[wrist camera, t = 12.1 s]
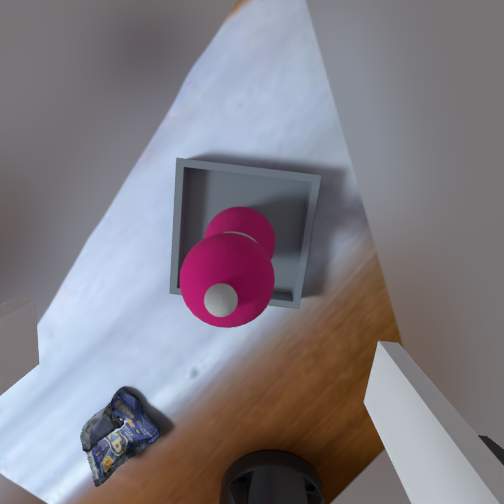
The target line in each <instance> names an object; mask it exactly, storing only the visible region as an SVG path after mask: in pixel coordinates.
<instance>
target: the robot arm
mask: <svg viewBox="0 0 504 504" xmlns="http://www.w3.org/2000/svg"><path fill="white" fill-rule="evenodd" d="M38 364H39V351H38V335H37V319H36V303H35V300H32V299H23V298H13V299H11V300H9V301H7V302H5V303H3V304H0V396H1V395H2V394H3V393H4V392H5V391H7V390H8V389H9V388H10V387H11V386H13V385H14V384H15V383H16V382H17V381H19V380H20V379H21V378H22V377H24V376H25V375H26V374H27V373H28V372H30V371H31V370H32V369H33V368H34V367H36V366H37V365H38ZM364 404H365V406H366V408H367V410H368V412H369V414H370V417H371V419H372V421H373V423H374V425H375V427H376V429H377V431H378V434H379V436H380V438H381V440H382V442H383V444H384V446H385V448H386V451H387V452H388V455H389V457H390V459H391V461H392V463H393V465H394V468H395V470H396V472H397V474H398V476H399V478H400V480H401V482H402V484H403V487H404V489H405V491H406V493H407V495H408V497H409V499H410V501H411V504H504V449H502V448H501V447H500V446H499V445H497V444H496V443H495V442H493V441H492V440H491V439H490V438H488V437H487V436H480V435H477V434H476V433H475V432H474V431H473V430H472V428H471V427H470V426H469V425H468V424H467V423H466V421H465V420H464V419H463V418H462V417H461V416H460V414H459V413H458V412H457V411H456V410H455V409H454V407H453V406H452V405H451V404H450V403H449V402H448V401H447V399H446V398H445V397H444V396H443V394H442V393H441V392H440V391H439V390H438V389H437V387H436V386H435V385H434V384H433V383H432V382H431V381H430V379H429V378H428V377H427V376H426V375H425V374H424V372H423V371H422V370H421V369H420V368H419V367H418V365H417V364H416V363H415V362H414V361H413V359H412V358H411V357H410V356H409V355H408V354H407V352H406V351H405V350H404V349H403V348H402V347H401V345H400V344H399V343H393V342H384V341H378V345H377V349H376V353H375V358H374V362H373V366H372V370H371V374H370V378H369V382H368V386H367V390H366V395H365V399H364ZM219 503H220V504H325V502H324V495H323V490H322V485H321V481H320V478H319V476H318V474H317V473H316V471H315V470H314V469H313V468H312V466H311V465H309V464H308V463H307V462H306V461H304V460H303V459H301V458H299V457H297V456H295V455H293V454H290V453H286V452H282V451H259V452H255V453H251V454H248V455H246V456H244V457H242V458H240V459H239V460H237V461H236V462H234V463H233V464H232V465H231V466H230V467H229V468H228V470H227V471H226V473H225V475H224V477H223V479H222V484H221V491H220V500H219Z"/></svg>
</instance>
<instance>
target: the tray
mask: <svg viewBox="0 0 504 504" xmlns="http://www.w3.org/2000/svg"><path fill="white" fill-rule="evenodd" d="M321 176H322V175H316V174H307V173H299V172H291V171H282V170H274V169H266V168H258V167H249V166H241V165H233V164H224V163H216V162H208V161H199V160H191V159H183V158H176V177H175V196H174V216H173V235H172V255H171V274H170V294H178V295H182V293H181V288H180V272H181V268H182V265H183V262H184V260H185V258H186V256H187V254H188V253H189V252H190V250H191V249H192V248H193V247H194V246H195V245H196V244H197V243H198V242H200V241H201V240H203V239H204V236H205V233H206V229H207V227H208V225H209V224H210V222H211V221H212V219H213V218H214V217H215V216H216V215H217V214H219V213H220V212H222V211H223V210H225V209H228V208H231V207H248V208H251V209H254V210H256V211H258V212H260V213H261V214H262V215H263V216H265V217H266V218H267V220H268V221H269V222H270V224H271V226H272V228H273V230H274V233H275V250H274V254H273V257H272V259H271V262H272V266H273V269H274V276H275V284H274V289H273V294H272V297H271V300H270V302H269V304H268V305H269V306H278V307H286V308H294V309H299V306H300V300H301V294H302V288H303V282H304V277H305V271H306V265H307V259H308V253H309V247H310V241H311V235H312V229H313V223H314V217H315V211H316V206H317V200H318V194H319V188H320V182H321Z"/></svg>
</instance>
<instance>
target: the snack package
mask: <svg viewBox="0 0 504 504" xmlns="http://www.w3.org/2000/svg"><path fill="white" fill-rule="evenodd" d="M138 402H139V399H138V398H136V396H134V395H132V394H131V393H129V392H128V391H127V390H126V389H125V388H123V387H122V388H120V389H119V390H118V391H117V392H116V393H115V395H114V396H113V398H112V400H111V402H110V403H109V404H108V405H107V406H106V407H105V408H104V409H102V410H101V411H99V412H98V413H96V414H95V415H94V416H93V417H92V418H91V419H89V421H87V422H86V424H85V425H84V426H83V429H82V432H81V436H80V438H81V442H82V446H83V447H82V448H83V451H86V453H87V455H88V459H87V460H88V461H89V464H90V468H91V470H92V473H93V480H94V483H95V486H96V487H98V486H100V485H101V484H103V483H104V482H105V481H106V480H107V479H108V478H109V477H110V476H111V475H112V473H113V472H114V471H115V470H116V469H117V468H118V467H119V466H120V465H122V464H123V463H125V461H127V460H128V459H130V457H133V456H135V455H136V454H137V453H140V452H142V451H144V450H145V449H146V448H147V447H148V446H150V445H151V444H152V443H154V442H155V441H156V440H157V439H158V437H159V434H160V429H159V428H158V427H156V426H155V425H154V424H153V423H152V422H151V421H150V420H149V419H148V417H147V416H146V414H145V412H144V410H143V406H142V405H141V404H140V403H138ZM139 404H140V405H141V406H140V405H139ZM119 418H121V419H123V420H122V421H121V420H120V419H119ZM124 420H127V423H126V424H125V425H124ZM123 425H124V427H123V428H122V429H120V430H119V431H117V432H115V433H111V432H113V431H114V430H115V429H117V428H118V429H119V428H121V427H122V426H123ZM110 433H111V434H110Z"/></svg>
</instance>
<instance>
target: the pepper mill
mask: <svg viewBox="0 0 504 504" xmlns="http://www.w3.org/2000/svg"><path fill="white" fill-rule="evenodd" d="M274 250H275V233H274V230H273V228H272V226H271V224H270V222H269V221H268V220H267V218H266V217H265V216H263V215H262V214H261V213H260V212H258V211H256V210H254V209H251V208H248V207H231V208H228V209H225V210H223V211H222V212H220V213H219V214H217V215H216V216H215V217H214V218H213V219H212V221H211V222H210V224H209V225H208V227H207V229H206V233H205V236H204V239H203V240H201V241H200V242H198V243H197V244H196V245H195V246H194V247H193V248H192V249H191V250H190V252H189V253H188V254H187V256H186V258H185V260H184V262H183V265H182V268H181V272H180V288H181V293H182V296H183V299H184V301H185V303H186V305H187V307H188V308H189V309H190V310H191V312H192V313H193V314H194V315H195V316H196V317H198V318H199V319H200V320H202V321H203V322H206V323H208V324H210V325H213V326H217V327H226V328H231V327H237V326H241V325H244V324H246V323H248V322H250V321H252V320H254V319H255V318H256V317H258V316H259V315H260V314H261V313H262V312H263V311H264V309H265V308H266V307H267V305H268V304H269V302H270V300H271V297H272V294H273V289H274V284H275V276H274V269H273V266H272V262H271V259H272V257H273V254H274Z"/></svg>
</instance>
